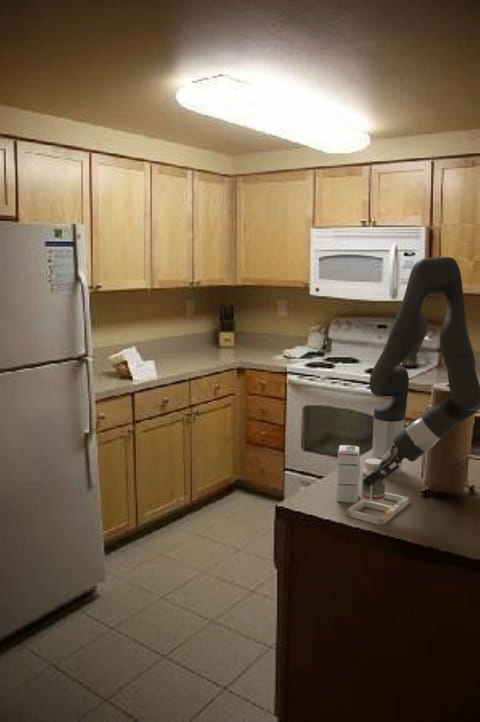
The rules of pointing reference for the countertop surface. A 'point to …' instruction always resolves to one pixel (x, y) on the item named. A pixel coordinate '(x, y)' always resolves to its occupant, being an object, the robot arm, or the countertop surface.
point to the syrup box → (348, 473)
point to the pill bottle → (378, 488)
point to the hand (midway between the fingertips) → (366, 479)
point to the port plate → (389, 510)
